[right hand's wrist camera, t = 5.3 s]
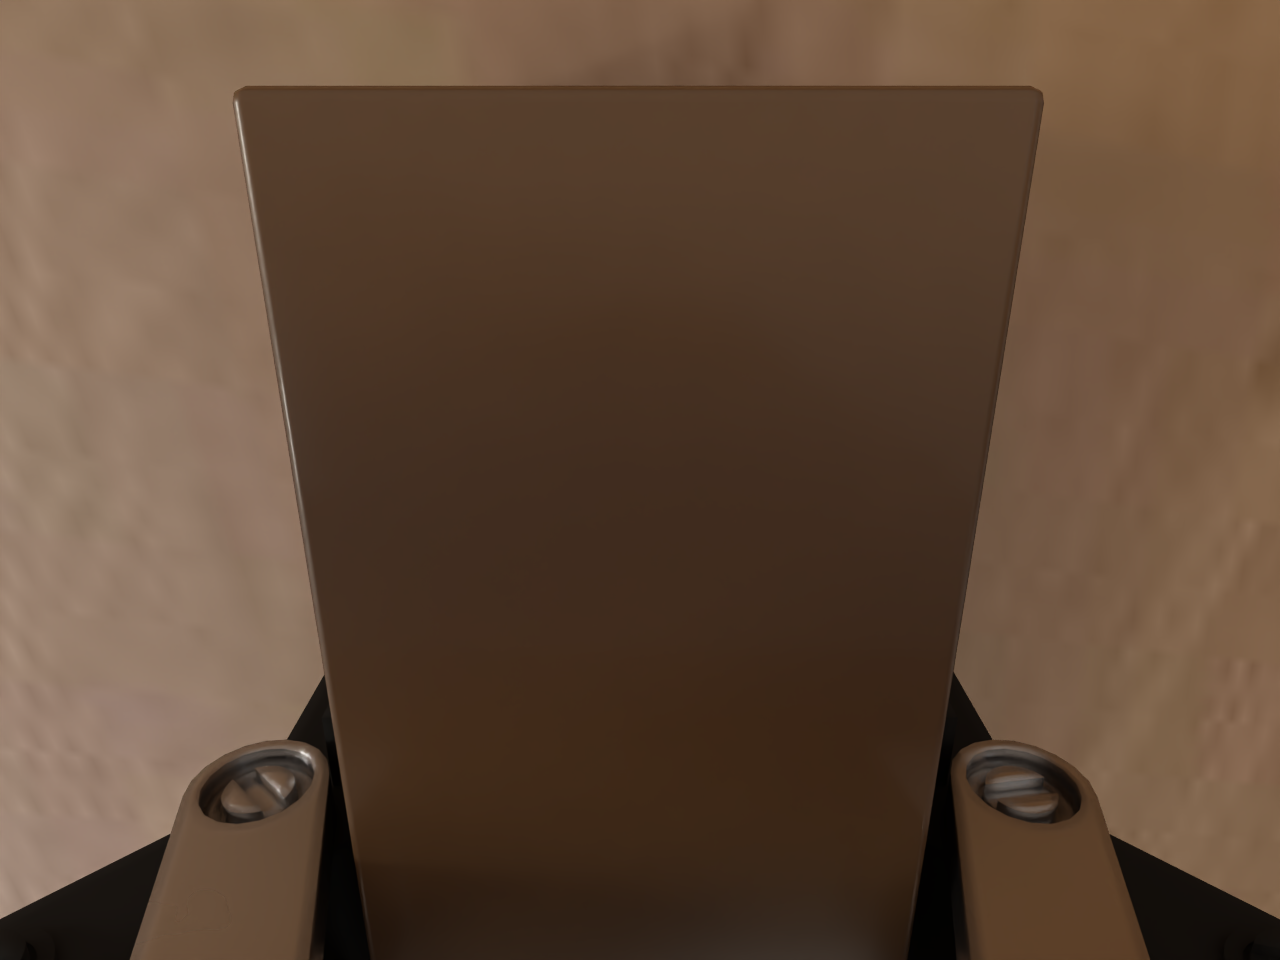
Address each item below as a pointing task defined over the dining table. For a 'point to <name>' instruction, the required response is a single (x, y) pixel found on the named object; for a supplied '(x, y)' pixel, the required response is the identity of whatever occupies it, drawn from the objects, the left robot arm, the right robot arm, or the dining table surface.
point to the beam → (638, 493)
